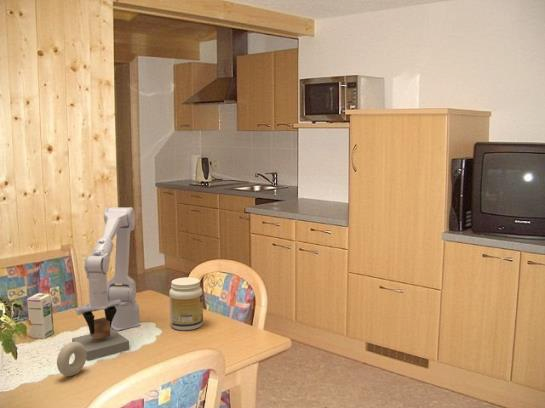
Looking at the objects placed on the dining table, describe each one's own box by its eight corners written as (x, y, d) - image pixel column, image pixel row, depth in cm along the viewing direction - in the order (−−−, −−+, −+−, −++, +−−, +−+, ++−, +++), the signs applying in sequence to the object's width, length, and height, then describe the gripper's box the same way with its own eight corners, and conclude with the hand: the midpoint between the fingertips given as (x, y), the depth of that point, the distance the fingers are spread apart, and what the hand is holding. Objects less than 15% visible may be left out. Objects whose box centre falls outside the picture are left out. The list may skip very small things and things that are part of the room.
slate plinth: (112, 336, 193) (112, 328, 193) (129, 349, 182) (129, 340, 182) (72, 346, 185) (72, 338, 184) (87, 360, 174) (87, 351, 173)
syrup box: (44, 339, 191) (42, 298, 189) (29, 337, 193) (26, 297, 191) (54, 332, 197) (51, 293, 195) (39, 331, 198) (36, 292, 196)
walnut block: (104, 331, 187) (103, 317, 186) (110, 335, 183) (109, 321, 182) (90, 335, 183) (89, 320, 183) (95, 339, 180) (94, 324, 179)
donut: (81, 367, 169) (80, 335, 168) (89, 369, 168) (88, 338, 166) (55, 380, 160) (53, 347, 159) (63, 382, 159) (61, 349, 157)
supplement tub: (207, 328, 202) (207, 283, 199) (175, 333, 196) (174, 287, 194) (197, 317, 213) (196, 274, 210) (166, 322, 207) (164, 278, 205)
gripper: (80, 298, 173) (82, 340, 175) (124, 290, 182) (125, 329, 184) (72, 293, 179) (74, 333, 181) (115, 285, 188) (117, 323, 189)
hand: (100, 331), depth 183 cm, fingers closed on walnut block, 5 cm apart
